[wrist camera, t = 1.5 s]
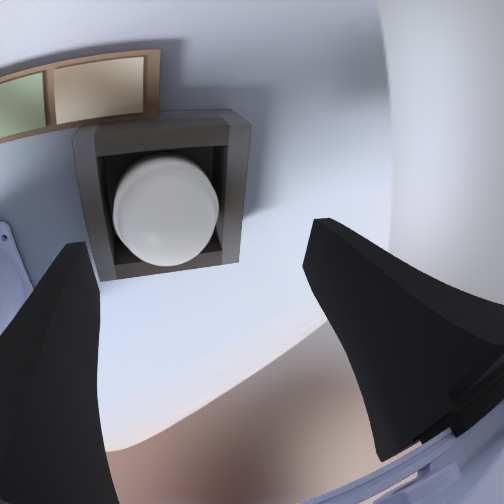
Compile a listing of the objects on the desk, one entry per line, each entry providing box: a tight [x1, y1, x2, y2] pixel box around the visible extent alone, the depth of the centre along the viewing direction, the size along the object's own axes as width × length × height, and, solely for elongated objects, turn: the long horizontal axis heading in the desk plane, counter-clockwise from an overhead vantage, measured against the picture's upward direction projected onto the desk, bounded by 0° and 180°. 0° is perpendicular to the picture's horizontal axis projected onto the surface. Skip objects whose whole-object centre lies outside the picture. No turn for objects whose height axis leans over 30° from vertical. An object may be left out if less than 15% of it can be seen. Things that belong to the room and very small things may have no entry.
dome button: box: [113, 152, 219, 266], centre depth 14 cm, size 5×5×5 cm
